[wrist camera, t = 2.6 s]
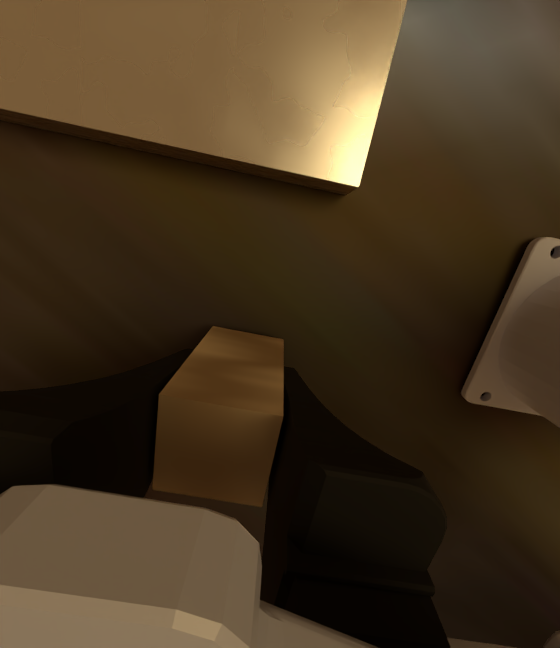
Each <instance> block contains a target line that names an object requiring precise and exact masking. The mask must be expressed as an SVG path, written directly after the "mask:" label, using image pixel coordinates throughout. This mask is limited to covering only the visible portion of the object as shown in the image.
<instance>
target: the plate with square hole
mask: <svg viewBox="0 0 560 648" xmlns="http://www.w3.org/2000/svg"><path fill="white" fill-rule="evenodd" d="M406 3H407V0H0V120H2V121H7V122H12V123H16V124H21V125H25V126H30V127H35V128H39V129H44V130H48V131H53V132H57V133H62V134H67V135H71V136H76V137H80V138H85V139H90V140H94V141H99V142H103V143H108V144H113V145H117V146H122V147H126V148H131V149H136V150H140V151H145V152H149V153H154V154H159V155H163V156H168V157H172V158H177V159H182V160H186V161H191V162H195V163H200V164H205V165H209V166H214V167H218V168H223V169H228V170H232V171H237V172H241V173H246V174H251V175H255V176H260V177H264V178H269V179H274V180H278V181H283V182H287V183H292V184H296V185H301V186H306V187H310V188H315V189H319V190H324V191H329V192H333V193H338V194H342V195H347V194H349V193H350V192H352V191H353V190H355V189H357V188H358V187H359V184H360V181H361V177H362V173H363V169H364V165H365V161H366V157H367V153H368V150H369V146H370V142H371V138H372V134H373V130H374V126H375V123H376V119H377V115H378V111H379V107H380V103H381V99H382V95H383V92H384V88H385V84H386V80H387V76H388V72H389V68H390V65H391V61H392V57H393V53H394V49H395V45H396V41H397V37H398V34H399V30H400V26H401V22H402V18H403V14H404V10H405V7H406Z"/></svg>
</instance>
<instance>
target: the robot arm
mask: <svg viewBox="0 0 560 648" xmlns="http://www.w3.org/2000/svg"><path fill="white" fill-rule="evenodd" d="M553 248H554V249H555V250H554V253H553V255H552V256H551V255H550V252H551V250H552V249H553ZM193 351H194V350H192V349H185V350H182V351H180V352H177V353H175V354H172V355H170V356H168V357H165V358H163V359H160V360H158V361H155V362H153V363H150V364H147V365H144V366H141V367H139V368H136V369H133V370H130V371H127V372H124V373H120V374H117V375H113V376H109V377H105V378H101V379H96V380H91V381H86V382H80V383H75V384H70V385H63V386H56V387H48V388H40V389H30V390H19V391H3V392H0V648H516V647H509V646H502V645H495V644H488V643H481V642H474V641H467V640H460V639H453V638H447V637H446V634H445V632H444V629H443V627H442V624H441V622H440V619H439V617H438V614H437V612H436V610H435V607H434V605H433V602H432V600H431V597H430V596H433V595H434V593H435V588H434V585H433V582H432V580H431V578H430V575H429V573H428V571H427V568H428V566H429V565H430V563H431V561H432V559H433V557H434V555H435V553H436V552H437V550H438V548H439V546H440V544H441V542H442V540H443V537H444V534H445V532H446V529H447V516H446V514H445V511H444V509H443V506H442V504H441V503H440V501H439V499H438V497H437V496H436V494H435V492H434V491H433V489H432V487H431V486H430V484H429V482H428V480H427V479H426V477H425V476H424V474H423V472H422V471H420V470H418V469H416V468H414V467H412V466H410V465H408V464H406V463H404V462H402V461H400V460H398V459H396V458H394V457H392V456H390V455H389V454H387V453H385V452H383V451H382V450H380V449H378V448H377V447H375V446H374V445H372V444H370V443H369V442H367V441H366V440H364V439H363V438H361V437H360V436H359V435H357V434H356V433H354V432H353V431H352V430H350V429H349V428H348V427H346V426H345V425H344V424H343V423H342V422H340V421H339V420H338V419H337V418H336V417H335V416H334V415H333V414H332V413H330V412H329V411H328V410H327V409H326V408H325V407H324V406H323V404H322V403H321V402H320V401H319V400H318V399H317V398H316V397H315V395H314V394H313V393H312V392H311V391H310V389H309V388H308V387H307V385H306V384H305V383H304V381H303V380H302V378H301V377H300V376H299V374H298V373H297V371H296V370H295V369H294V368H289V367H284V399H283V420H282V424H281V429H280V433H279V437H278V441H277V446H276V450H275V454H274V458H273V463H272V467H271V471H270V475H269V490H268V502H267V513H266V524H265V535H264V545H263V555H262V563H261V555H260V547H259V542H258V541H257V540H256V539H255V538H254V537H253V536H252V535H251V534H250V533H249V532H248V531H247V530H246V529H245V528H244V527H243V526H242V525H241V524H240V523H239V522H238V521H237V520H236V519H235V518H232V517H229V516H227V515H224V514H221V513H219V512H216V511H213V510H210V509H208V508H203V507H197V506H191V505H184V504H178V503H172V502H165V501H159V500H153V499H146V498H144V496H145V494H146V492H147V490H148V488H149V486H150V483H151V481H152V479H153V473H154V459H155V444H156V430H157V415H158V401H159V394H160V392H161V391H162V390H163V389H164V387H165V386H166V385H167V383H168V382H169V381H170V380H171V378H172V377H173V376H174V375H175V373H176V372H177V371H178V370H179V368H180V367H181V366H182V364H183V363H184V362H185V361H186V359H187V358H188V357H189V356H190V354H191V353H192V352H193ZM484 392H485V394H484V395H483V396H481V395H482V393H484ZM461 394H462V396H463V397H464V398H465V399H466V400H467V401H468V402H470V403H474V404H480V405H485V406H491V407H496V408H502V409H507V410H513V411H518V412H524V413H529V414H535V415H540V416H543V417H545V418H546V419H547V420H549V421H550V422H552V423H553V424H555V425H556V426H558V427H559V428H560V239H556V238H552V237H538V238H536V239H534V240H533V241H531V242H530V243H529V245H528V246H527V248H526V251H525V253H524V255H523V257H522V259H521V261H520V264H519V266H518V268H517V270H516V272H515V275H514V277H513V279H512V281H511V283H510V286H509V288H508V290H507V292H506V294H505V296H504V299H503V301H502V303H501V305H500V307H499V310H498V312H497V314H496V316H495V318H494V321H493V323H492V325H491V327H490V329H489V331H488V334H487V336H486V338H485V340H484V342H483V345H482V347H481V349H480V351H479V353H478V356H477V358H476V360H475V362H474V364H473V366H472V369H471V371H470V373H469V375H468V377H467V380H466V382H465V384H464V386H463V388H462V392H461ZM480 396H481V397H480ZM543 648H560V631H557V632H555V633H554V634H553V635H551V636H550V637H549V638H548V640H547V641H546V643H545V644H544V646H543Z"/></svg>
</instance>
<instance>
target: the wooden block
mask: <svg viewBox="0 0 560 648" xmlns="http://www.w3.org/2000/svg"><path fill="white" fill-rule="evenodd" d="M283 399H284V339H279V338H274V337H268V336H263V335H258V334H252V333H247V332H242V331H237V330H231V329H226V328H221V327H215V326H212V328H211V329H210V330H209V332H208V333H207V334H206V335H205V337H204V338H203V339H202V340H201V342H200V343H199V344H198V345H197V347H196V348H195V349H194V351H193V352H192V353H191V354H190V356H189V357H188V358H187V359H186V361H185V362H184V363H183V364H182V366H181V367H180V368H179V370H178V371H177V372H176V373H175V375H174V376H173V377H172V378H171V380H170V381H169V382H168V383H167V385H166V386H165V387H164V389H163V390H162V391H161V392H160V394H159V401H158V415H157V430H156V444H155V459H154V473H153V488H152V490H158V491H164V492H170V493H177V494H183V495H189V496H195V497H202V498H208V499H214V500H220V501H227V502H233V503H239V504H245V505H252V506H258V507H262V505H263V501H264V496H265V492H266V488H267V484H268V479H269V475H270V471H271V467H272V463H273V458H274V454H275V450H276V446H277V441H278V437H279V433H280V429H281V424H282V420H283Z"/></svg>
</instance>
